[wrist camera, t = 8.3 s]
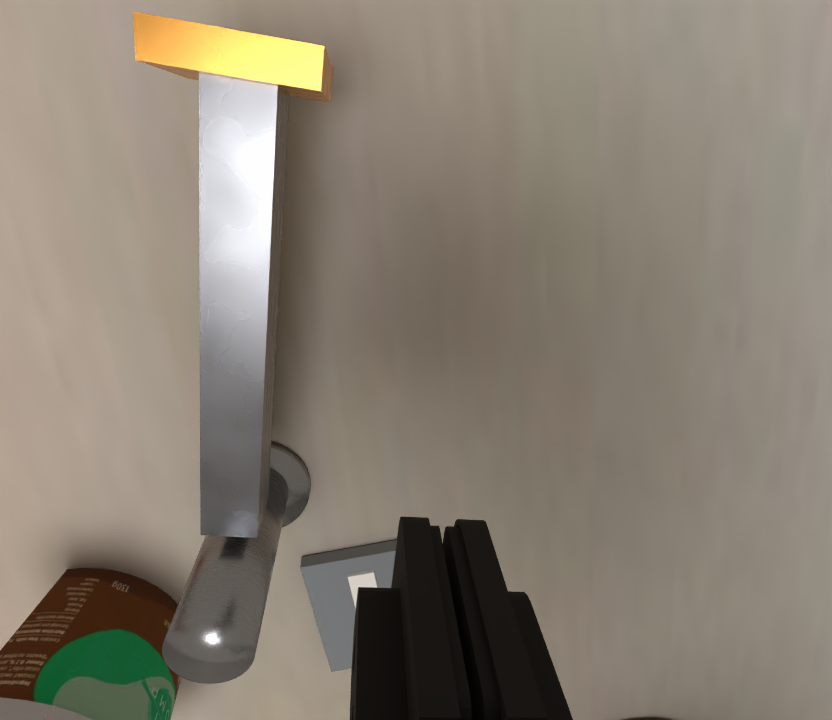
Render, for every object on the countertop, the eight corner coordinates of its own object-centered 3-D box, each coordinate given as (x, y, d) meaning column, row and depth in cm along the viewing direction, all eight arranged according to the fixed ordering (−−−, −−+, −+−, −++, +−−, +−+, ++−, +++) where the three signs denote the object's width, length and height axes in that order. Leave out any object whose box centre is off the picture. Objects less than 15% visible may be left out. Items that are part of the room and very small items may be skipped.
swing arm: (300, 483, 23) (287, 558, 19) (193, 477, 22) (156, 552, 18) (333, 67, 17) (323, 46, 13) (190, 43, 16) (133, 11, 12)
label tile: (431, 641, 32) (433, 656, 31) (332, 659, 32) (331, 675, 31) (412, 536, 29) (413, 550, 28) (302, 556, 29) (300, 570, 28)
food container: (233, 692, 32) (182, 915, 23) (129, 708, 32) (35, 940, 23) (179, 530, 27) (86, 730, 18) (56, 546, 27) (-102, 758, 18)
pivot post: (319, 514, 28) (300, 688, 19) (223, 531, 27) (159, 714, 19) (297, 432, 26) (264, 583, 17) (194, 449, 26) (106, 611, 17)
